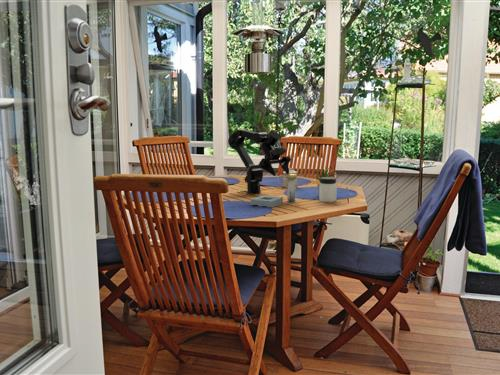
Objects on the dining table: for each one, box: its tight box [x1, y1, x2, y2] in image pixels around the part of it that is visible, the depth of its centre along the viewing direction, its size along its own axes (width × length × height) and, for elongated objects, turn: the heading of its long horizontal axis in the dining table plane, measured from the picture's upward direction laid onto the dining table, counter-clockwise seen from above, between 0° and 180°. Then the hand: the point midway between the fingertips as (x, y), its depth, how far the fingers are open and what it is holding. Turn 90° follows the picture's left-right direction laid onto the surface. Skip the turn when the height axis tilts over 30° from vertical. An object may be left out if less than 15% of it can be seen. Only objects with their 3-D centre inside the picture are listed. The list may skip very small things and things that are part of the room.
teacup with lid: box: [277, 167, 298, 189], centre depth 290 cm, size 12×9×12 cm
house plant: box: [314, 166, 338, 194], centre depth 259 cm, size 14×14×16 cm
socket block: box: [250, 195, 284, 208], centre depth 239 cm, size 12×12×3 cm
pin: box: [286, 174, 298, 203], centre depth 245 cm, size 6×6×14 cm
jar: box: [318, 176, 338, 203], centre depth 245 cm, size 9×8×12 cm
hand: (282, 174), depth 250 cm, fingers open, 9 cm apart
